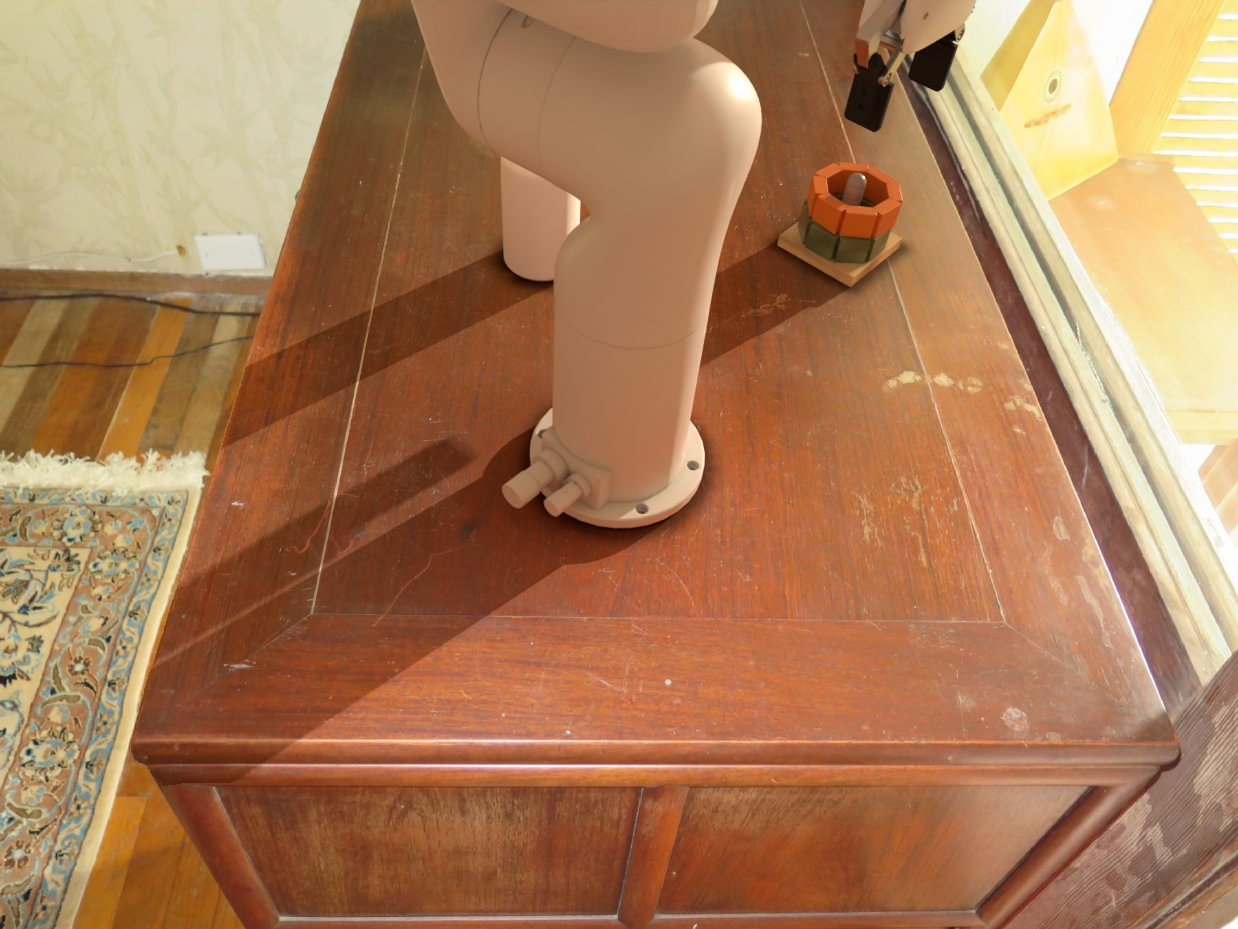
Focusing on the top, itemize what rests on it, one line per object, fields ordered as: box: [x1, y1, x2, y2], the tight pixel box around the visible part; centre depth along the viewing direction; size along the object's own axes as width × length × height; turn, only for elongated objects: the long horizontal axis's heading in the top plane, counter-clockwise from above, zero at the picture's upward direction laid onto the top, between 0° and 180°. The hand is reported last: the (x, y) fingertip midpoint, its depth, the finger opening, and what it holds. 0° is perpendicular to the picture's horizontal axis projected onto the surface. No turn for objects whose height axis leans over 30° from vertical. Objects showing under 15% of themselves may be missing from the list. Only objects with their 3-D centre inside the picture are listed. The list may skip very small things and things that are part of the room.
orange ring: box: [806, 161, 904, 238], centre depth 86 cm, size 8×8×2 cm
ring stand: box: [776, 173, 903, 288], centre depth 87 cm, size 8×8×8 cm
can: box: [499, 155, 582, 283], centre depth 81 cm, size 6×6×12 cm
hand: (894, 103), depth 81 cm, fingers open, 9 cm apart
